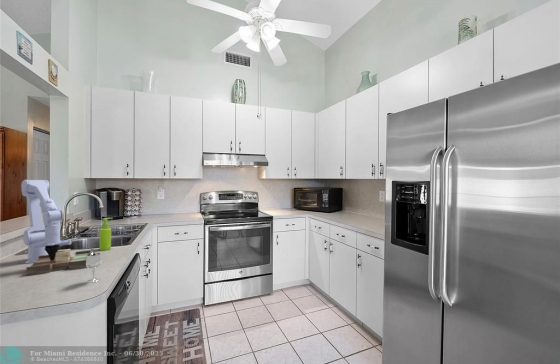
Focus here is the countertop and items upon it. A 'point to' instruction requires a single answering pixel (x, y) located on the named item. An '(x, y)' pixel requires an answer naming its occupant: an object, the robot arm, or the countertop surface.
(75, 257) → the track
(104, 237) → the soap dispenser
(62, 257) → the maple block
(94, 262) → the wineglass
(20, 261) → the countertop surface
